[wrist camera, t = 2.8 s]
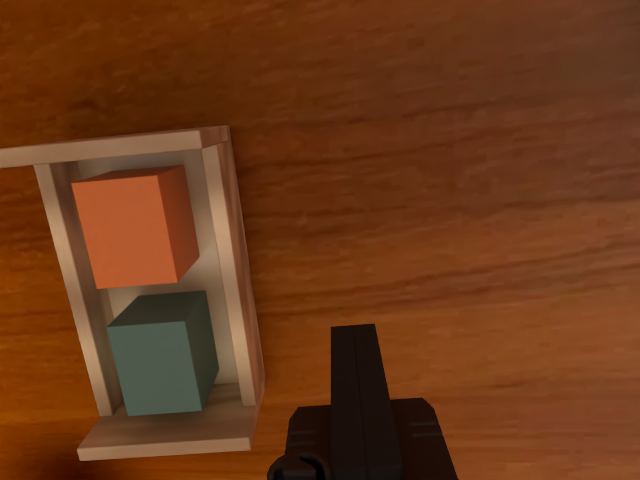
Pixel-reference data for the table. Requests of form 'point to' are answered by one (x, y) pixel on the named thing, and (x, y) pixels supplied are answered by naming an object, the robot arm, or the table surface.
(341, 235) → the table surface
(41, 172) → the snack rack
